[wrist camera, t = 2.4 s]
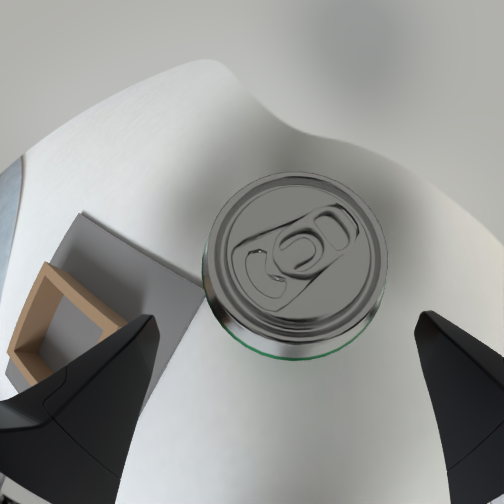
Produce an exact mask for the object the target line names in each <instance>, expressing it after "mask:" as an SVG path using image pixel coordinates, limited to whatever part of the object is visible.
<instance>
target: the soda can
mask: <svg viewBox="0 0 504 504" xmlns="http://www.w3.org/2000/svg"><path fill="white" fill-rule="evenodd" d="M387 268H388V252H387V246H386V241H385V237H384V234H383V231H382V228H381V226H380V224H379V222H378V220H377V218H376V216H375V215H374V213H373V212H372V211H371V209H370V208H369V206H368V205H367V204H366V203H365V202H364V201H363V200H362V199H361V198H360V197H359V196H358V195H357V194H356V193H354V192H353V191H352V190H350V189H349V188H348V187H346V186H344V185H343V184H341V183H339V182H337V181H335V180H333V179H330V178H328V177H325V176H321V175H318V174H314V173H306V172H284V173H277V174H273V175H269V176H266V177H263V178H260V179H258V180H256V181H254V182H252V183H250V184H248V185H247V186H245V187H244V188H242V189H241V190H239V191H238V192H237V193H236V194H235V195H234V196H233V197H231V198H230V199H229V201H228V202H227V203H226V204H225V205H224V207H223V208H222V209H221V211H220V213H219V214H218V216H217V218H216V219H215V222H214V224H213V227H212V229H211V232H210V234H209V237H208V239H207V242H206V244H205V248H204V253H203V258H202V280H203V288H204V291H205V295H206V298H207V302H208V304H209V306H210V308H211V310H212V312H213V314H214V316H215V317H216V319H217V320H218V321H219V323H220V324H221V326H222V327H223V328H224V329H225V330H226V331H227V332H228V333H229V334H230V335H231V336H232V337H233V338H234V339H235V340H237V341H238V342H239V343H241V344H242V345H244V346H245V347H246V348H248V349H250V350H252V351H255V352H257V353H259V354H261V355H264V356H267V357H271V358H274V359H280V360H288V361H302V360H311V359H316V358H320V357H324V356H327V355H329V354H331V353H334V352H336V351H338V350H340V349H342V348H343V347H345V346H346V345H348V344H350V343H351V342H352V341H353V340H355V339H356V338H357V337H358V336H359V335H360V334H361V333H362V332H363V331H364V330H365V329H366V327H367V326H368V325H369V324H370V322H371V321H372V319H373V318H374V316H375V314H376V312H377V310H378V308H379V306H380V303H381V300H382V297H383V294H384V289H385V283H386V275H387Z"/></svg>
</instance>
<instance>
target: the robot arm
mask: <svg viewBox="0 0 504 504" xmlns="http://www.w3.org/2000/svg"><path fill="white" fill-rule="evenodd" d="M414 336H415V341H416V345H417V349H418V353H419V358H420V362H421V367H422V371H423V375H424V378H425V381H426V385H427V388H428V391H429V395H430V398H431V402H432V406H433V409H434V413H435V417H436V421H437V425H438V429H439V434H440V438H441V443H442V448H443V453H444V458H445V464H446V470H447V477H448V484H449V492H450V500H451V504H487V503H489V502H490V504H504V357H502V356H501V355H500V354H498V353H497V352H496V351H494V350H493V349H491V348H490V347H488V346H487V345H485V344H484V343H482V342H481V341H479V340H478V339H476V338H475V337H473V336H472V335H470V334H468V333H467V332H465V331H464V330H462V329H461V328H459V327H458V326H456V325H455V324H453V323H451V322H450V321H448V320H447V319H445V318H444V317H442V316H440V315H439V314H437V313H436V312H434V311H431V310H430V311H423V312H422V313H421V314H420V316H419V319H418V322H417V325H416V327H415V331H414ZM159 342H160V332H159V328H158V325H157V322H156V319H155V316H154V315H152V314H141V315H140V316H138V317H137V318H135V319H134V320H132V321H131V322H129V323H128V324H126V325H125V326H123V327H122V328H120V329H119V330H117V331H116V332H114V333H113V334H111V335H110V336H108V337H107V338H105V339H104V340H102V341H101V342H99V343H98V344H96V345H95V346H93V347H92V348H90V349H89V350H87V351H86V352H85V353H83V354H82V355H80V356H79V357H77V358H76V359H74V360H73V361H71V362H70V363H68V364H67V365H65V366H64V367H62V368H61V369H59V370H58V371H56V372H55V373H53V374H52V375H50V376H49V377H47V378H45V379H44V380H42V381H40V382H39V383H37V384H35V385H33V386H32V387H30V388H28V389H26V390H24V391H23V392H21V393H19V394H17V395H15V396H14V397H12V398H10V399H7V400H3V401H0V504H115V501H116V497H117V493H118V489H119V485H120V481H121V480H120V479H121V476H122V473H123V469H124V465H125V462H126V458H127V455H128V451H129V448H130V444H131V441H132V437H133V434H134V431H135V427H136V424H137V421H138V418H139V414H140V411H141V408H142V405H143V402H144V399H145V396H146V393H147V390H148V387H149V384H150V380H151V377H152V373H153V369H154V364H155V359H156V355H157V350H158V346H159Z"/></svg>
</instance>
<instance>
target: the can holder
mask: <svg viewBox="0 0 504 504" xmlns="http://www.w3.org/2000/svg"><path fill="white" fill-rule="evenodd" d="M205 296H206V295H205V291H204V289H203V288H201V287H199V286H197V285H196V284H194V283H192V282H190V281H189V280H187V279H185V278H183V277H182V276H180V275H178V274H176V273H175V272H173V271H171V270H169V269H168V268H166V267H164V266H163V265H161V264H159V263H157V262H156V261H154V260H152V259H151V258H149V257H147V256H146V255H144V254H142V253H141V252H139V251H138V250H136V249H134V248H133V247H131V246H129V245H128V244H126V243H125V242H123V241H121V240H120V239H118V238H117V237H115V236H113V235H112V234H110V233H109V232H107V231H106V230H104V229H102V228H101V227H99V226H98V225H96V224H95V223H93V222H92V221H90V220H89V219H87V218H86V217H84V216H83V215H81V214H80V213H78V215H77V217H76V218H75V220H74V221H73V223H72V225H71V226H70V228H69V230H68V231H67V233H66V235H65V236H64V238H63V240H62V241H61V243H60V245H59V247H58V248H57V250H56V252H55V254H54V256H53V258H52V259H51V261H50V263H48V262H46V261H45V262H44V264H43V266H42V268H41V270H40V272H39V274H38V276H37V278H36V280H35V282H34V284H33V286H32V288H31V290H30V293H29V295H28V297H27V299H26V302H25V304H24V307H23V309H22V311H21V314H20V316H19V319H18V321H17V324H16V327H15V329H14V332H13V335H12V338H11V341H10V344H9V347H8V350H7V354H8V355H9V356H10V359H9V362H8V366H7V369H6V373H5V375H6V376H7V378H8V379H9V381H10V382H11V383H12V385H13V386H14V388H15V389H16V390H17V392H18V393H21V392H23V391H24V390H26V389H28V388H30V387H32V386H33V385H35V384H37V383H39V382H40V381H42V380H44V379H45V378H47V377H49V376H50V375H52V374H53V373H55V372H56V371H58V370H59V369H61V368H62V367H64V366H65V365H67V364H68V363H70V362H71V361H73V360H74V359H76V358H77V357H79V356H80V355H82V354H83V353H85V352H86V351H87V350H89V349H90V348H92V347H93V346H95V345H96V344H98V343H99V342H101V341H102V340H104V339H105V338H107V337H108V336H110V335H111V334H113V333H114V332H116V331H117V330H119V329H120V328H122V327H123V326H125V325H126V324H128V323H129V322H131V321H132V320H134V319H135V318H137V317H138V316H140V315H141V314H152V315H154V316H155V319H156V322H157V325H158V328H159V332H160V342H159V346H158V350H157V355H156V359H155V364H154V369H153V373H152V377H151V380H150V384H149V387H148V390H147V393H146V396H145V399H144V402H143V405H142V408H141V411H140V414H141V412H142V410H143V408H144V407H145V405H146V403H147V401H148V399H149V397H150V395H151V394H152V392H153V390H154V388H155V386H156V384H157V383H158V381H159V379H160V377H161V375H162V373H163V372H164V370H165V368H166V366H167V364H168V362H169V361H170V359H171V357H172V355H173V353H174V352H175V350H176V348H177V346H178V344H179V342H180V341H181V339H182V337H183V335H184V334H185V332H186V330H187V328H188V326H189V325H190V323H191V321H192V319H193V317H194V316H195V314H196V312H197V310H198V309H199V307H200V305H201V303H202V301H203V300H204V298H205ZM140 414H139V416H140Z"/></svg>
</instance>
